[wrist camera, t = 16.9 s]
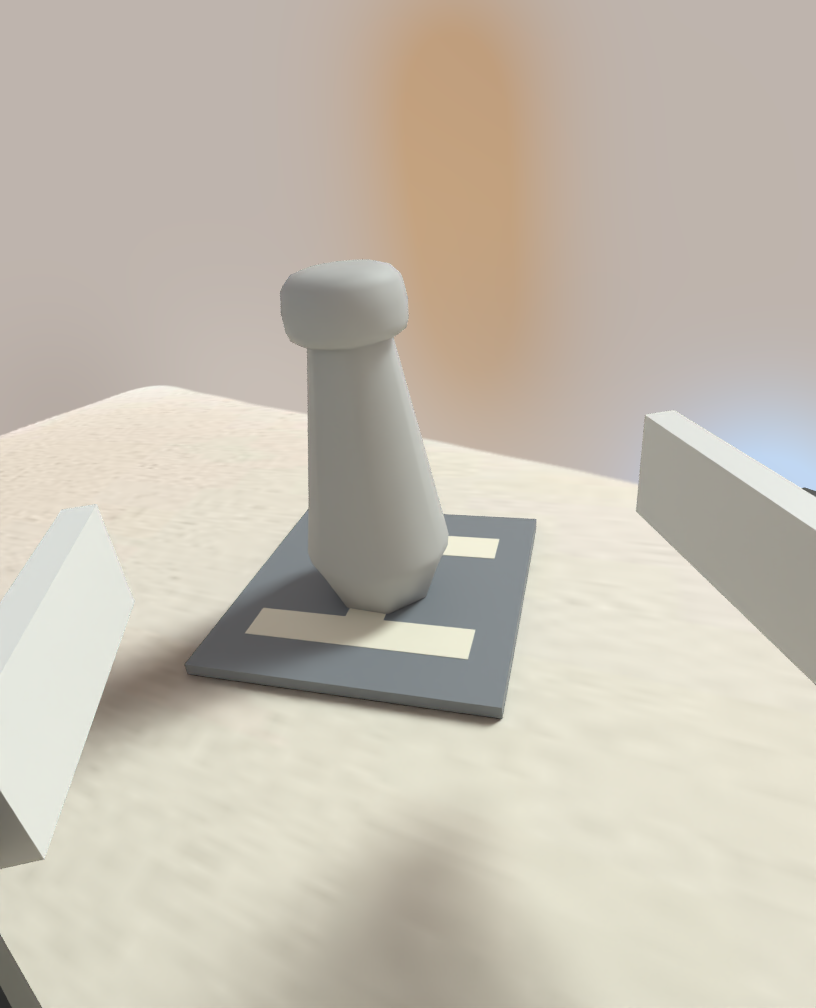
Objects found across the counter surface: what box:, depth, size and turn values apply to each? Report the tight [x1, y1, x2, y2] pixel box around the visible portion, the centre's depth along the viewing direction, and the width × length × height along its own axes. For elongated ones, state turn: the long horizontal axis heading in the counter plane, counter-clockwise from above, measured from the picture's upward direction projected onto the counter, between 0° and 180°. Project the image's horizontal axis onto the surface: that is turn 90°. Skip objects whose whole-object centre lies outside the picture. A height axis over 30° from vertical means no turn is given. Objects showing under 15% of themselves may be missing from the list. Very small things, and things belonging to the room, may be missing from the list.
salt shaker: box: [280, 260, 449, 614], centre depth 24 cm, size 6×6×13 cm
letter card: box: [185, 509, 536, 719], centre depth 27 cm, size 12×12×1 cm
